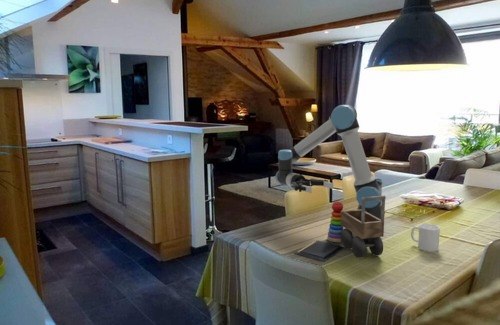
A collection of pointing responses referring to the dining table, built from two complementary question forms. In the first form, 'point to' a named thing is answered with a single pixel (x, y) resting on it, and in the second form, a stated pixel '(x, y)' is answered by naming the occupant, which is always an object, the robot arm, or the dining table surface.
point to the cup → (427, 237)
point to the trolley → (363, 229)
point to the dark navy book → (320, 250)
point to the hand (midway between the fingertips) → (322, 188)
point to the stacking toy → (335, 223)
